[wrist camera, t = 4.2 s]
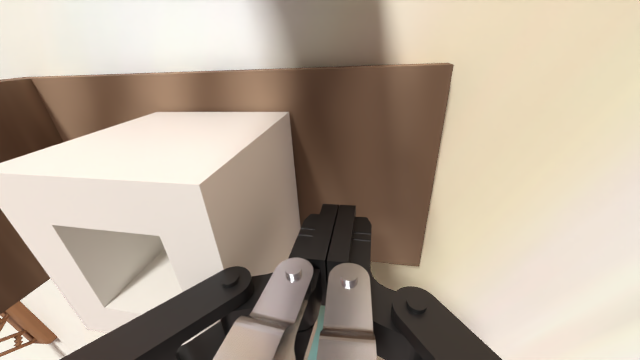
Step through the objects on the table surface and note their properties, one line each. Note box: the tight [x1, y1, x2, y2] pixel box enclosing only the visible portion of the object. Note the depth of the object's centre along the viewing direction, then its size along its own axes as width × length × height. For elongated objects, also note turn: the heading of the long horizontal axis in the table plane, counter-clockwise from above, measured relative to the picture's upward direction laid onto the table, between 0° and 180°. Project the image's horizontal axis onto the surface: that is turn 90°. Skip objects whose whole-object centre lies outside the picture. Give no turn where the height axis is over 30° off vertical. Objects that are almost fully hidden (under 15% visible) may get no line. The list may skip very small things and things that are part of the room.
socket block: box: [0, 112, 301, 345], centre depth 13 cm, size 8×8×8 cm
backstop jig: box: [0, 63, 453, 315], centre depth 14 cm, size 26×12×9 cm, turn 92°
